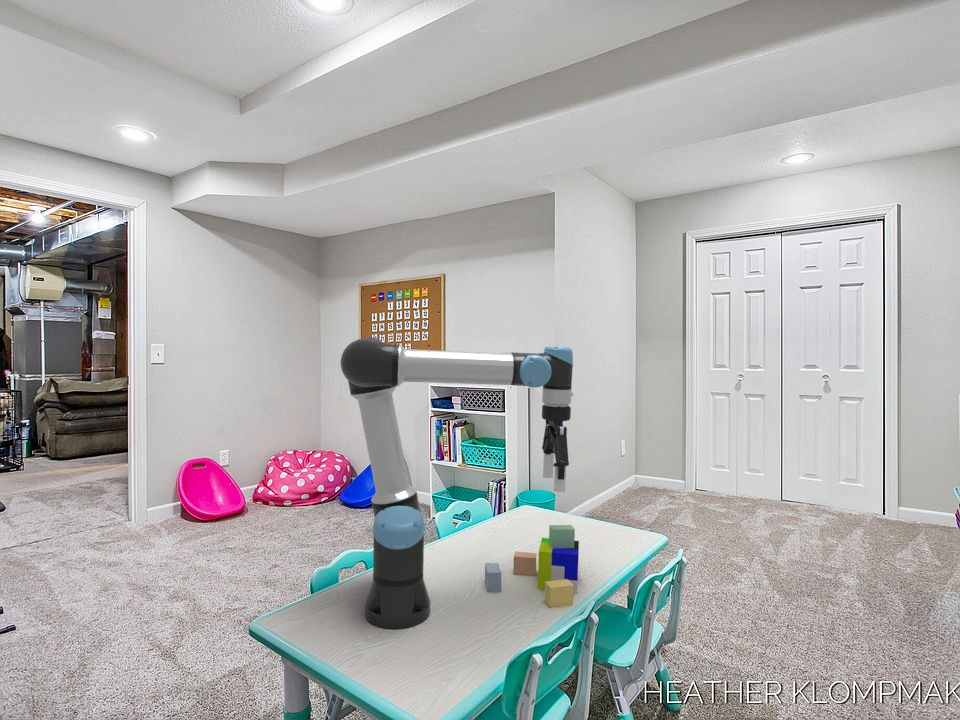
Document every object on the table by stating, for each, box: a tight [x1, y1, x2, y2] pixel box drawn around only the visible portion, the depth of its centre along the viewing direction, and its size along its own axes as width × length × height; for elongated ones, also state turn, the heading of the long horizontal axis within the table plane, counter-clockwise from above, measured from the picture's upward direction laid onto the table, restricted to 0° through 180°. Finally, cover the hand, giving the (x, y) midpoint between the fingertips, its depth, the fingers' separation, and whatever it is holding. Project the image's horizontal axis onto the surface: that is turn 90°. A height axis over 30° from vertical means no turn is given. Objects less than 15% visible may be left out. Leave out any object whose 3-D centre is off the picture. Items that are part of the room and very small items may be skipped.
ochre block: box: [543, 579, 574, 608], centre depth 136 cm, size 6×4×5 cm, turn 106°
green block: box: [548, 524, 576, 549], centre depth 147 cm, size 6×4×5 cm, turn 95°
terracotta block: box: [512, 551, 537, 577], centre depth 154 cm, size 6×4×5 cm, turn 81°
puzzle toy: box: [537, 537, 580, 594], centre depth 147 cm, size 10×10×10 cm
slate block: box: [484, 562, 502, 593], centre depth 144 cm, size 6×4×5 cm, turn 6°
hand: (553, 484), depth 148 cm, fingers open, 13 cm apart
